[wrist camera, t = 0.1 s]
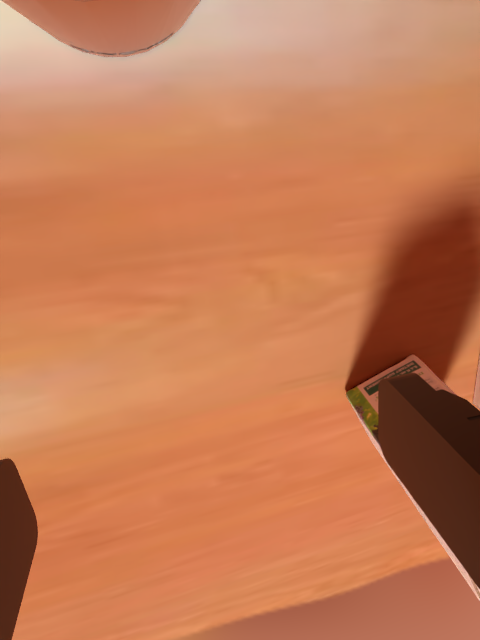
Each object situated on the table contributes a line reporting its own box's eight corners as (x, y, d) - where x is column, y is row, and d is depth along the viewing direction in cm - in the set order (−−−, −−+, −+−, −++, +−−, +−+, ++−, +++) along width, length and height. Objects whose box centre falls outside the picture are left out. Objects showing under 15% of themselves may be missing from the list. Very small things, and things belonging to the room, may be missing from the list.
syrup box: (414, 350, 32) (596, 518, 19) (436, 406, 35) (609, 585, 22) (342, 390, 32) (476, 582, 20) (370, 443, 35) (503, 640, 22)
